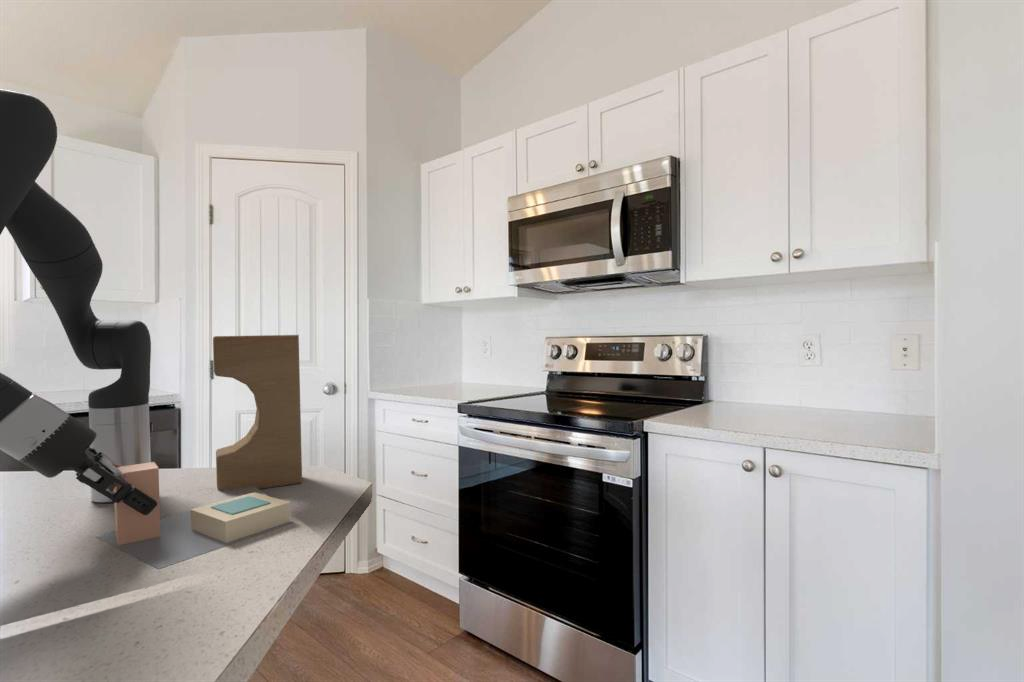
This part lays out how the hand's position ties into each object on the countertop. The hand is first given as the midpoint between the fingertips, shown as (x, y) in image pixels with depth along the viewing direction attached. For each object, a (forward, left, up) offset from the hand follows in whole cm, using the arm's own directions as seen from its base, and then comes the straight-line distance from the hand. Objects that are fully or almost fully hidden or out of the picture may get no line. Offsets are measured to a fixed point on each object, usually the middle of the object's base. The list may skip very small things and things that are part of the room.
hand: (148, 502), depth 79 cm
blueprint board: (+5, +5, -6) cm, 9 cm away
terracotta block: (0, -1, -5) cm, 5 cm away
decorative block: (-13, +25, -6) cm, 29 cm away
